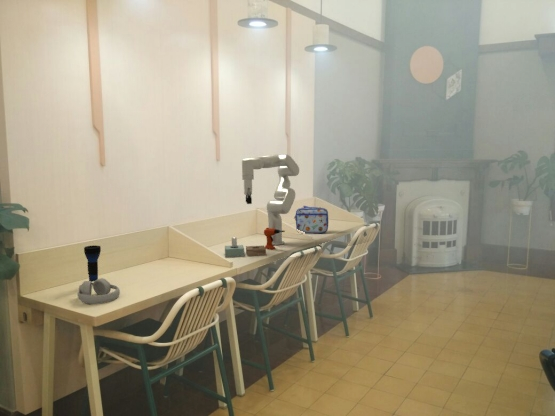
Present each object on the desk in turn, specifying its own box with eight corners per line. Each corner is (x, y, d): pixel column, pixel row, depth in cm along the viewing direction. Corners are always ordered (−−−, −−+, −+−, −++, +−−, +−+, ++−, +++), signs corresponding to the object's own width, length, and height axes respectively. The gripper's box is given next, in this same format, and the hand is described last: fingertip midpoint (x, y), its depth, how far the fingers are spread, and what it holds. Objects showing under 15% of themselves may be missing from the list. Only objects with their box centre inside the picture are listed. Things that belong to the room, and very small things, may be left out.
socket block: (246, 252, 331) (245, 246, 331) (264, 251, 333) (263, 245, 332) (247, 256, 320) (247, 249, 319) (266, 255, 321) (265, 249, 321)
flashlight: (105, 284, 258) (103, 246, 255) (90, 287, 252) (88, 249, 250) (98, 281, 263) (96, 244, 261) (83, 284, 258) (81, 246, 255)
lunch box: (293, 234, 398) (293, 206, 395) (295, 231, 408) (294, 205, 406) (328, 234, 394) (328, 206, 392) (328, 232, 404) (328, 205, 402)
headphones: (71, 295, 237) (84, 311, 221) (71, 280, 235) (83, 295, 219) (110, 288, 248) (124, 303, 232) (110, 274, 246) (124, 288, 230)
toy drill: (284, 249, 330) (281, 227, 330) (263, 249, 342) (261, 228, 342) (289, 248, 334) (286, 226, 333) (268, 248, 346) (265, 227, 346)
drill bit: (231, 252, 326) (231, 237, 325) (236, 252, 326) (236, 237, 325) (232, 253, 323) (231, 238, 321) (237, 253, 323) (236, 238, 322)
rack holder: (224, 253, 330) (224, 245, 329) (243, 252, 331) (242, 244, 331) (225, 257, 318) (225, 249, 317) (244, 256, 319) (244, 248, 319)
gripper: (241, 176, 339) (242, 201, 341) (243, 178, 322) (243, 204, 324) (252, 176, 340) (253, 201, 342) (254, 178, 323) (255, 204, 325)
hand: (248, 203), depth 333 cm, fingers open, 9 cm apart
